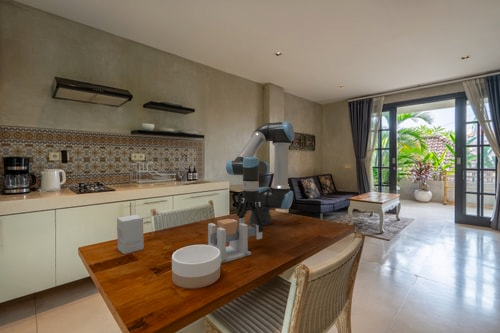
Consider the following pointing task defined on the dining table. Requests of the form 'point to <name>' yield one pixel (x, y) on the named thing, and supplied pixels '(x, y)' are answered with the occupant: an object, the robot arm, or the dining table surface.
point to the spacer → (227, 226)
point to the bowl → (195, 266)
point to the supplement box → (130, 233)
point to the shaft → (234, 235)
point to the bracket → (230, 243)
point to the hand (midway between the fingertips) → (250, 234)
